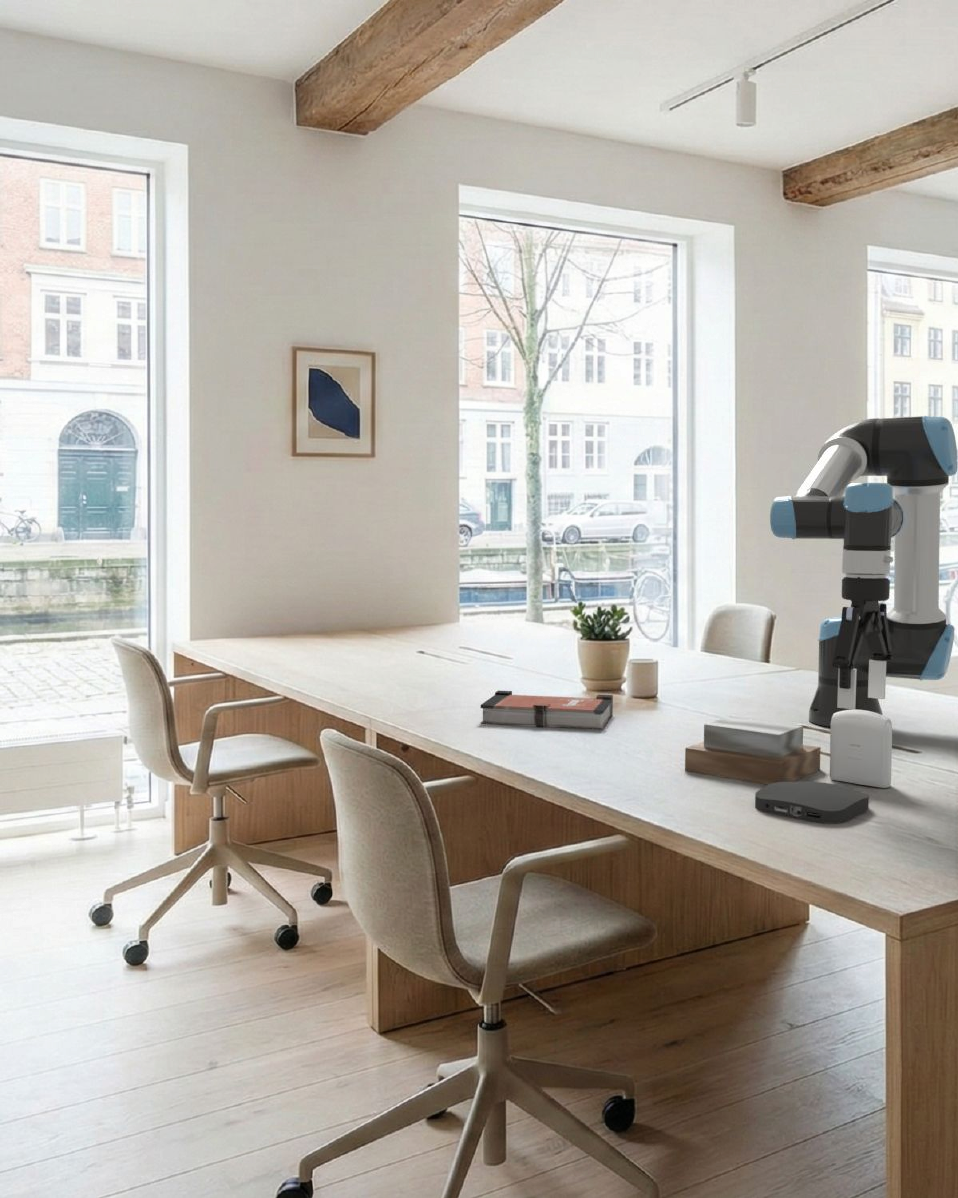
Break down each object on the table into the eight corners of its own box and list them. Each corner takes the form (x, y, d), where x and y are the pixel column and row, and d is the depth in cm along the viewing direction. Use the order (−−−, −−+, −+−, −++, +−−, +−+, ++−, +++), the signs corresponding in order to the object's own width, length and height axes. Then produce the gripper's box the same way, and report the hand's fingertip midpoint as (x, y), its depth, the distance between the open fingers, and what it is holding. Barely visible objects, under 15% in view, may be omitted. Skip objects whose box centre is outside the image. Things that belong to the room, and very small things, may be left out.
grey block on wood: (727, 754, 208) (728, 712, 207) (819, 769, 196) (821, 724, 196) (684, 770, 195) (685, 725, 195) (781, 786, 184) (782, 739, 183)
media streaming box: (876, 808, 172) (877, 789, 172) (836, 829, 161) (837, 809, 161) (788, 792, 182) (789, 774, 181) (745, 811, 171) (745, 792, 171)
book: (479, 726, 237) (479, 703, 236) (498, 712, 254) (498, 690, 253) (602, 732, 230) (602, 708, 230) (612, 717, 247) (612, 695, 247)
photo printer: (825, 780, 189) (827, 708, 188) (836, 775, 192) (838, 705, 191) (884, 790, 182) (886, 716, 181) (895, 786, 185) (897, 712, 184)
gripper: (860, 579, 172) (855, 715, 173) (914, 574, 191) (909, 696, 193) (813, 578, 177) (809, 709, 178) (870, 573, 196) (866, 692, 197)
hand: (861, 703), depth 185 cm, fingers open, 13 cm apart
